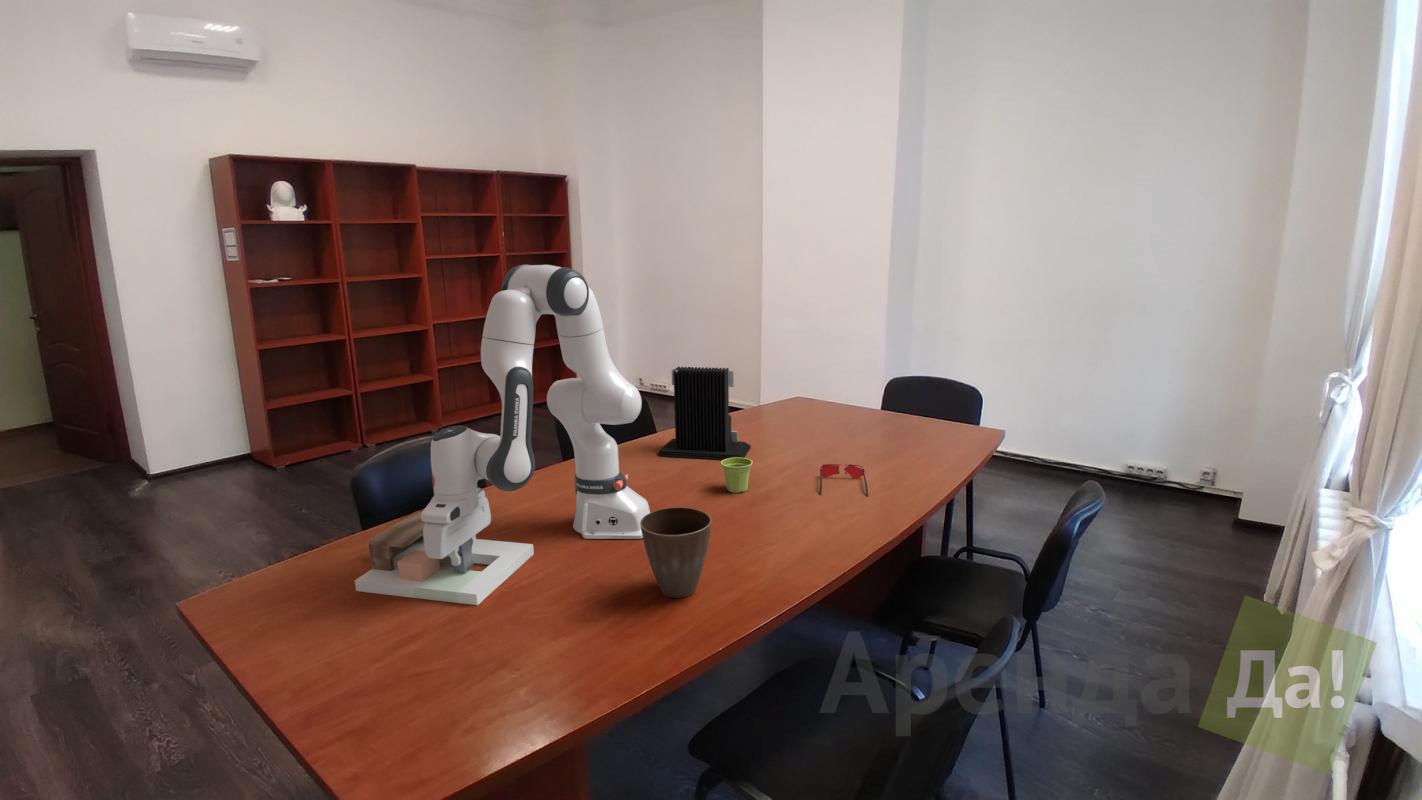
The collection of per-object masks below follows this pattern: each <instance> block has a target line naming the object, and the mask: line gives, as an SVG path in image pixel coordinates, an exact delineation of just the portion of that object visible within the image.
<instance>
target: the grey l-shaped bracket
mask: <svg viewBox="0 0 1422 800" xmlns="http://www.w3.org/2000/svg"><path fill="white" fill-rule="evenodd" d="M414 551H415V550H414ZM411 553H412V552H411ZM457 553H458V554H459V556H462V563H461V564H460V565H458V566H453V565H452V563H451V558H450V557H449V555H447V556H446V557H444V558H443V559H439V561H440V567H446V568H453V571H457V572H466V571H468V570H471V569H472V568H473V567H474V563H473V560H472V552H471V544H470V539H469V540H468V541H466V542H465V543H463V544H462V545H461V546H459V551H458V552H457ZM409 554H410V553H409ZM406 556H407V555H406ZM403 558H404V557H403ZM401 559H402V558H401ZM398 561H399V560H398ZM397 569H398V564H397ZM398 573H399V572H398Z"/></svg>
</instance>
